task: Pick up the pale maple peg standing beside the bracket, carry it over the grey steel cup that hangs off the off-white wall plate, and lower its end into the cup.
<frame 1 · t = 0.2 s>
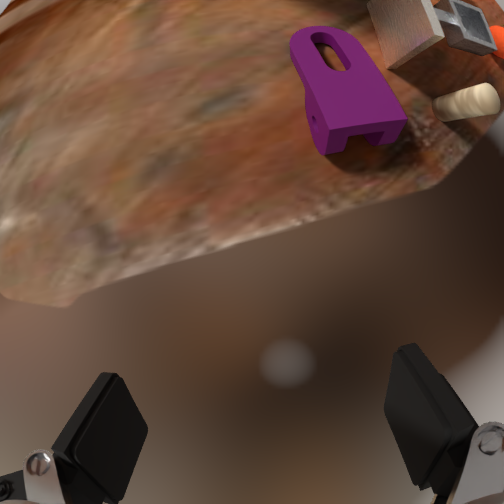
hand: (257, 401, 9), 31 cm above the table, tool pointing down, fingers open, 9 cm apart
maple peg: (441, 109, 32), on the table
cup bracket: (436, 44, 29), on the table
clementine: (489, 44, 27), on the table
mounting bracket: (331, 87, 33), on the table
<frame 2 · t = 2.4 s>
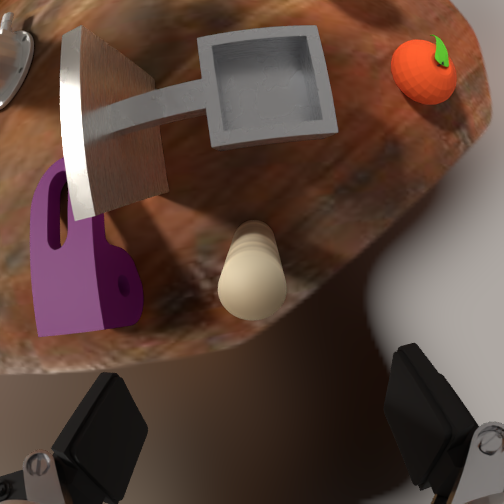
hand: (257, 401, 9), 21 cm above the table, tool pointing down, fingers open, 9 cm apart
maple peg: (254, 240, 28), on the table
cup bracket: (262, 114, 25), on the table
clementine: (407, 76, 23), on the table
mounting bracket: (90, 235, 29), on the table
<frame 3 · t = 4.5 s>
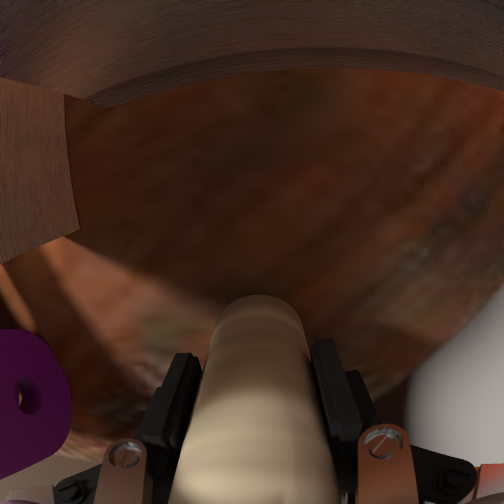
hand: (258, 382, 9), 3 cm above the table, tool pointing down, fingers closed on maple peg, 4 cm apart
maple peg: (258, 334, 13), on the table, touching gripper
cup bracket: (279, 49, 9), on the table
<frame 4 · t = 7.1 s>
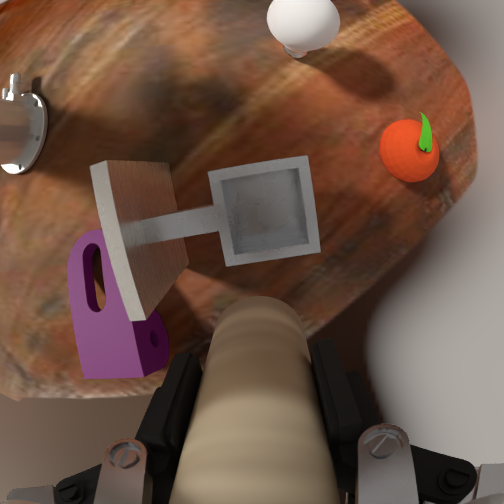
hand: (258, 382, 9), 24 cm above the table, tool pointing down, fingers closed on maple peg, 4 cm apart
maple peg: (259, 335, 13), point 21 cm above the table, touching gripper
cup bracket: (264, 198, 31), on the table
clementine: (396, 147, 29), on the table
light bulb: (295, 50, 27), on the table
mounting bracket: (121, 292, 36), on the table
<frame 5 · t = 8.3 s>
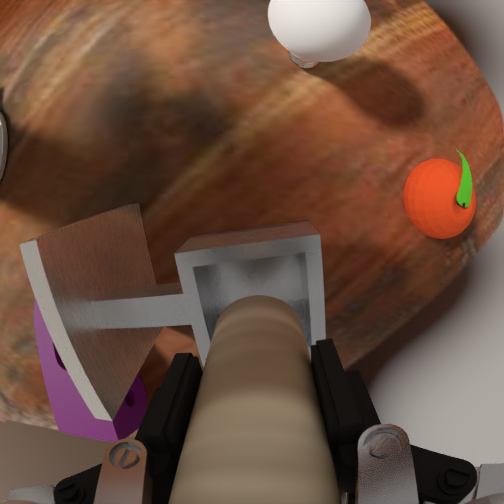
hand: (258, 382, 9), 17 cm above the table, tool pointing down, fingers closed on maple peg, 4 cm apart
maple peg: (259, 334, 13), point 13 cm above the table, touching gripper
cup bracket: (257, 251, 26), on the table
clementine: (420, 188, 24), on the table
light bulb: (303, 57, 21), on the table
mounting bracket: (93, 341, 30), on the table
when the fingers open (13 cm above the table, at t = 9.5 s): maple peg drops 1 cm, resting on cup bracket.
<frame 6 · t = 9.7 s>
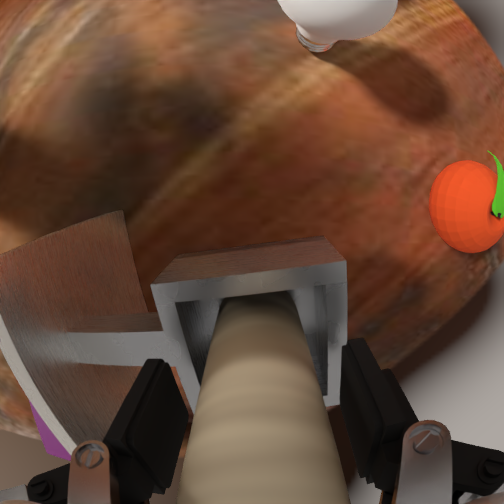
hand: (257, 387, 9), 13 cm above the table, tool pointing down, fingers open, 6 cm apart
maple peg: (257, 319, 14), point 8 cm above the table, touching cup bracket
cup bracket: (259, 266, 22), on the table
clementine: (445, 194, 20), on the table
light bulb: (313, 41, 17), on the table
mounting bracket: (80, 359, 26), on the table
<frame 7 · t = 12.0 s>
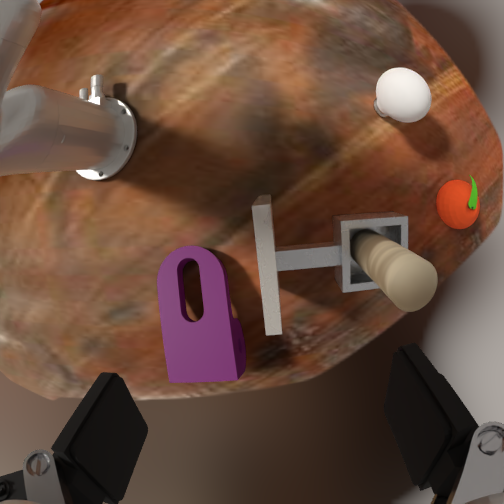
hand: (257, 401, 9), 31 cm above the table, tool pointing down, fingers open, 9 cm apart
maple peg: (366, 247, 30), point 8 cm above the table, touching cup bracket
cup bracket: (348, 232, 37), on the table
clementine: (445, 198, 35), on the table
light bulb: (380, 108, 33), on the table
mounting bracket: (204, 303, 42), on the table
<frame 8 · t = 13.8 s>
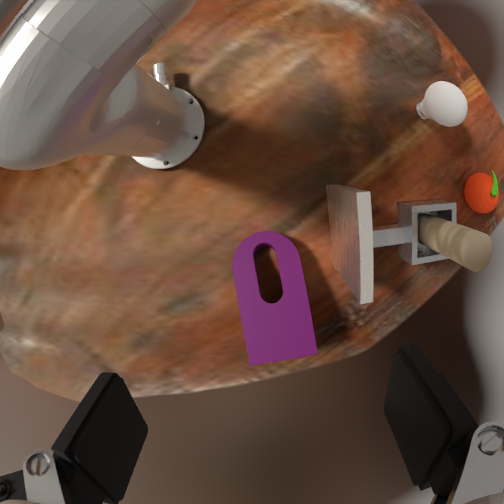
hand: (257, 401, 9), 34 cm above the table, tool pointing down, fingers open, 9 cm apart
maple peg: (422, 228, 33), point 8 cm above the table, touching cup bracket
cup bracket: (397, 217, 41), on the table
clementine: (469, 187, 39), on the table
light bulb: (419, 111, 36), on the table
mounting bracket: (272, 286, 45), on the table
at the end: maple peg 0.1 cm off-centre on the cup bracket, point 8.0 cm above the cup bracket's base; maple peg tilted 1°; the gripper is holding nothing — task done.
